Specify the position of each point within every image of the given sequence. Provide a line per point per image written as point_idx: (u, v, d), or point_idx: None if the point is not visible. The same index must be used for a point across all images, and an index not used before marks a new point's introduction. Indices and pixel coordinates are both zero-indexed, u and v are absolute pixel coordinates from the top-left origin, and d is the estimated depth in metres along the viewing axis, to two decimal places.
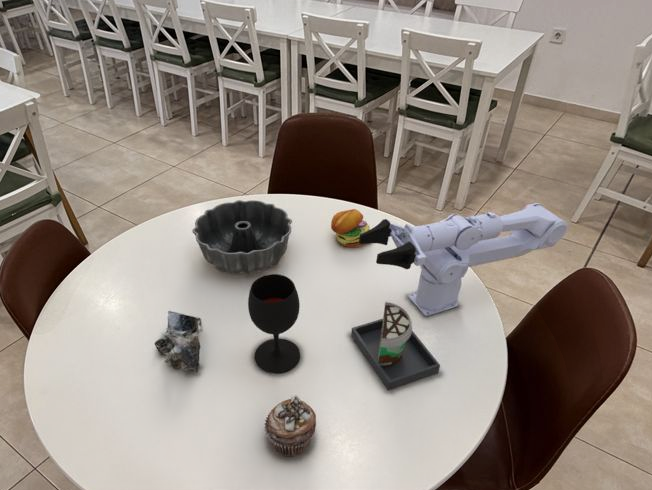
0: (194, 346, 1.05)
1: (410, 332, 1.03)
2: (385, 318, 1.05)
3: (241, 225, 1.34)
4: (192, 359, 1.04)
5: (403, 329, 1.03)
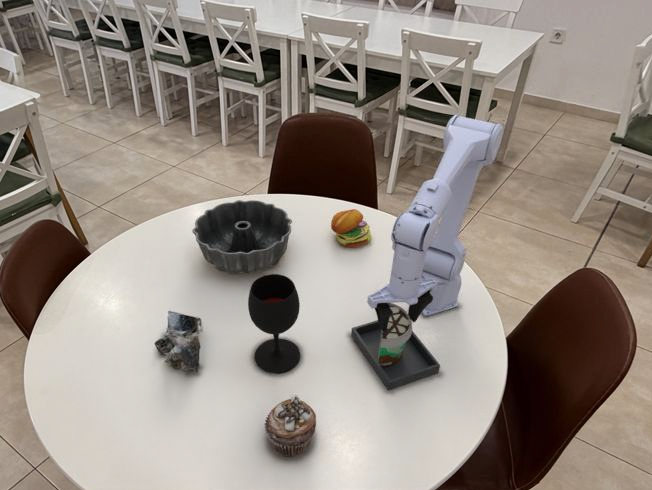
0: (194, 346, 1.05)
1: (410, 332, 1.03)
2: None
3: (241, 225, 1.34)
4: (192, 359, 1.04)
5: (403, 329, 1.03)
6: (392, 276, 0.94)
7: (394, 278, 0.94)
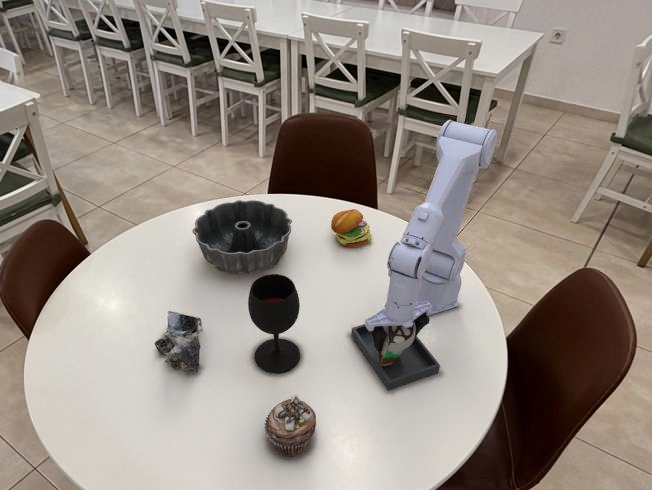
0: (194, 346, 1.05)
1: (414, 334, 1.03)
2: None
3: (241, 225, 1.34)
4: (192, 359, 1.04)
5: (407, 331, 1.02)
6: (388, 301, 0.98)
7: (390, 303, 0.98)
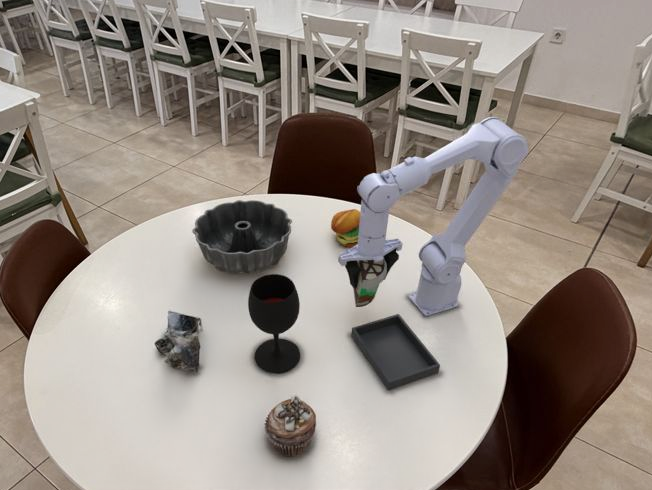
0: (194, 346, 1.05)
1: (386, 270, 1.07)
2: None
3: (241, 225, 1.34)
4: (192, 359, 1.04)
5: (379, 268, 1.07)
6: (359, 235, 1.03)
7: (361, 237, 1.03)
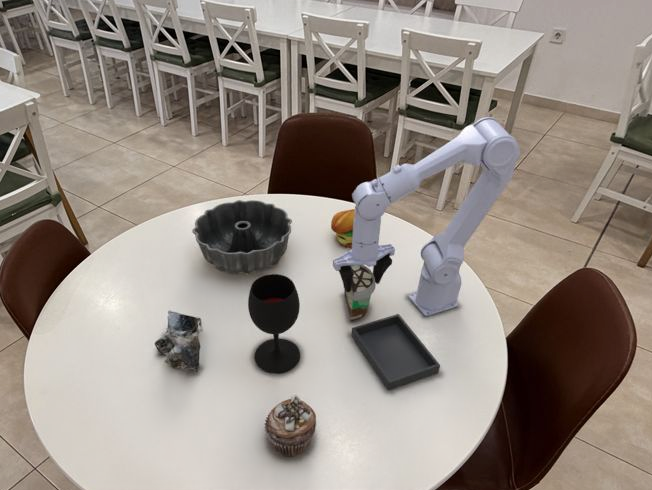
0: (194, 346, 1.05)
1: (375, 283, 1.15)
2: None
3: (241, 225, 1.34)
4: (192, 359, 1.04)
5: (368, 282, 1.14)
6: (353, 241, 1.07)
7: (354, 243, 1.07)
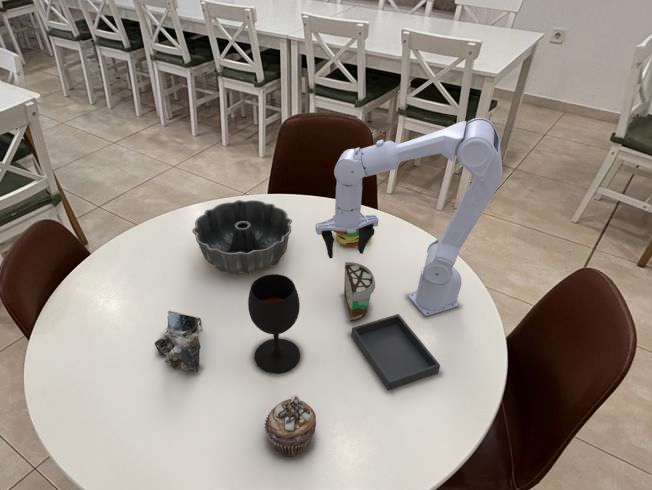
0: (194, 346, 1.05)
1: (374, 283, 1.15)
2: (350, 276, 1.16)
3: (241, 225, 1.34)
4: (192, 359, 1.04)
5: (367, 282, 1.14)
6: (335, 207, 1.11)
7: (336, 209, 1.11)
